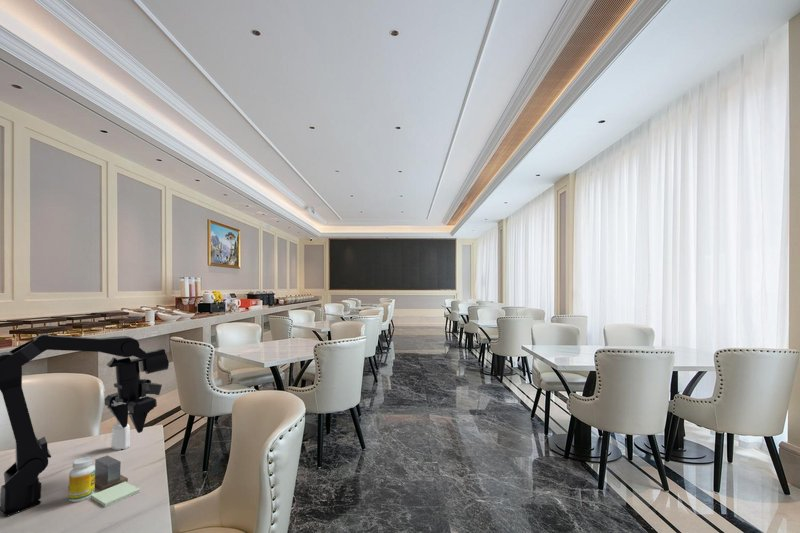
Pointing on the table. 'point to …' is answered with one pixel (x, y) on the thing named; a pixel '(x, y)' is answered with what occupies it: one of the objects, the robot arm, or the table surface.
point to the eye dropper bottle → (120, 436)
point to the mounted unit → (108, 473)
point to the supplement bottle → (81, 480)
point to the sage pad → (115, 494)
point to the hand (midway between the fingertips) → (132, 429)
